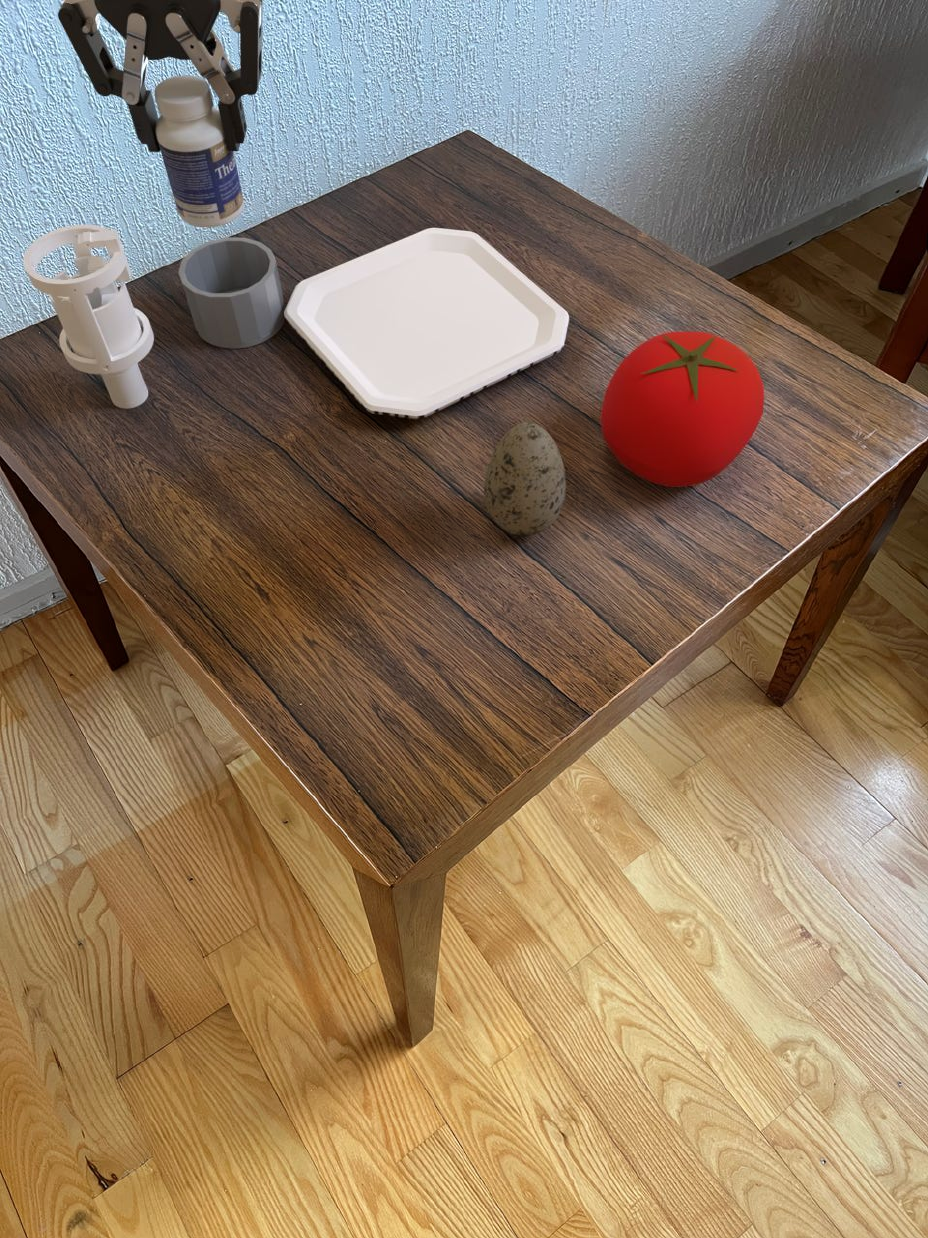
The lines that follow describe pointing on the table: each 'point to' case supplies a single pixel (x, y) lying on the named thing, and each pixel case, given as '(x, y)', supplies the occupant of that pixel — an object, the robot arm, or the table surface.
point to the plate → (426, 322)
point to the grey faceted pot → (233, 292)
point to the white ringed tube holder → (96, 310)
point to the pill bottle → (197, 153)
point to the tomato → (682, 407)
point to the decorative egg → (525, 481)
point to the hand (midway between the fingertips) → (195, 145)
